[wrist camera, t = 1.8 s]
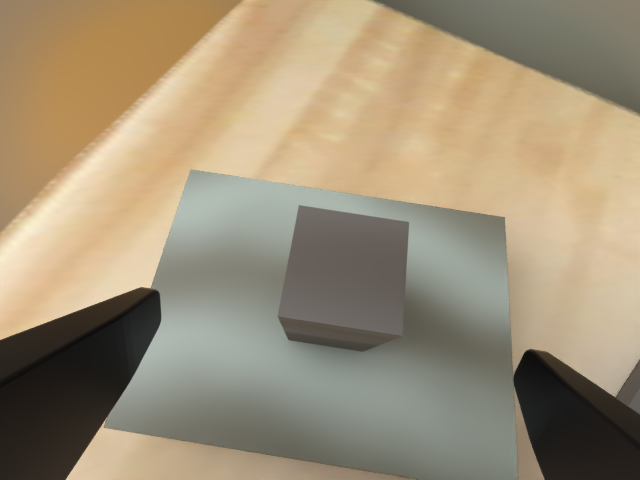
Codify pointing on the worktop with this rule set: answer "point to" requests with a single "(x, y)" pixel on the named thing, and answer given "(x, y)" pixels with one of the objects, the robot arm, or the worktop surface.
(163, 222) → the worktop surface
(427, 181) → the worktop surface
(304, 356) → the lid
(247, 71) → the worktop surface
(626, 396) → the rubber mat
